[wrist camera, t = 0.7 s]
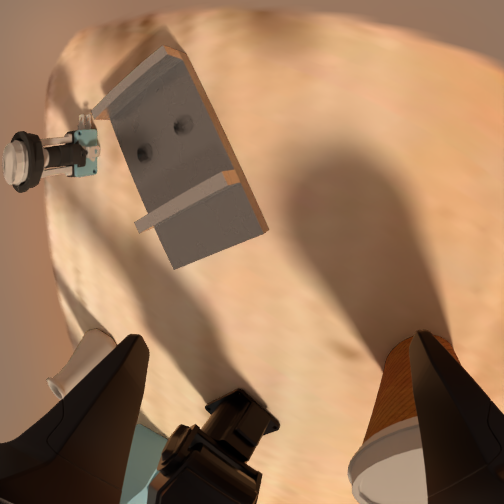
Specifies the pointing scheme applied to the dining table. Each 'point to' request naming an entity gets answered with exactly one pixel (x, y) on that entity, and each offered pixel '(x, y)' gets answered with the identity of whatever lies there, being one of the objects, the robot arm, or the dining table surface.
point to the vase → (141, 465)
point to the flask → (81, 362)
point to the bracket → (180, 160)
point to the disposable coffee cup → (392, 439)
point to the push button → (50, 156)
